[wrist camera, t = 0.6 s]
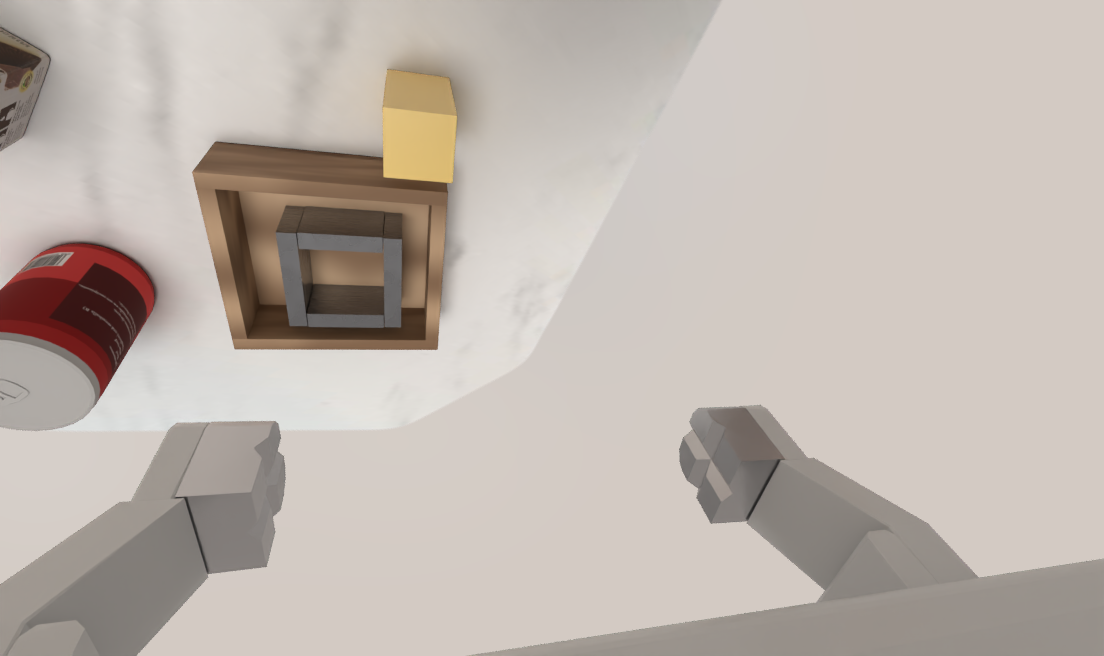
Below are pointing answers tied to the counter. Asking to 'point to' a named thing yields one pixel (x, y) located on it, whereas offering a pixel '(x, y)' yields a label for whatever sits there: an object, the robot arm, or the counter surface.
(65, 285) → the canned food
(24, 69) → the coffee box
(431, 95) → the plug
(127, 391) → the counter surface
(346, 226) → the socket
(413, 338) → the walled box
